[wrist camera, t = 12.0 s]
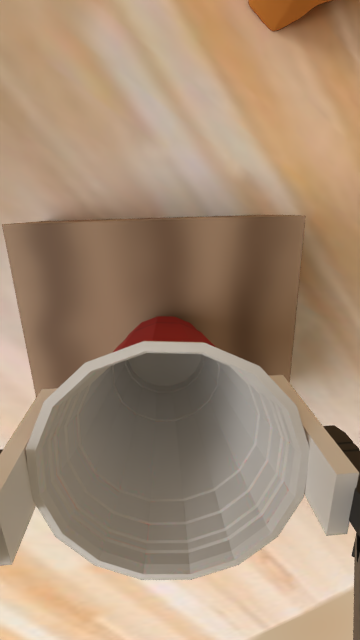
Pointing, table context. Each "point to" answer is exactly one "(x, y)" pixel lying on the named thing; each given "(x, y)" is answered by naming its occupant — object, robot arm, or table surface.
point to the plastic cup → (167, 456)
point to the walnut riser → (155, 285)
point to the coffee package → (282, 11)
